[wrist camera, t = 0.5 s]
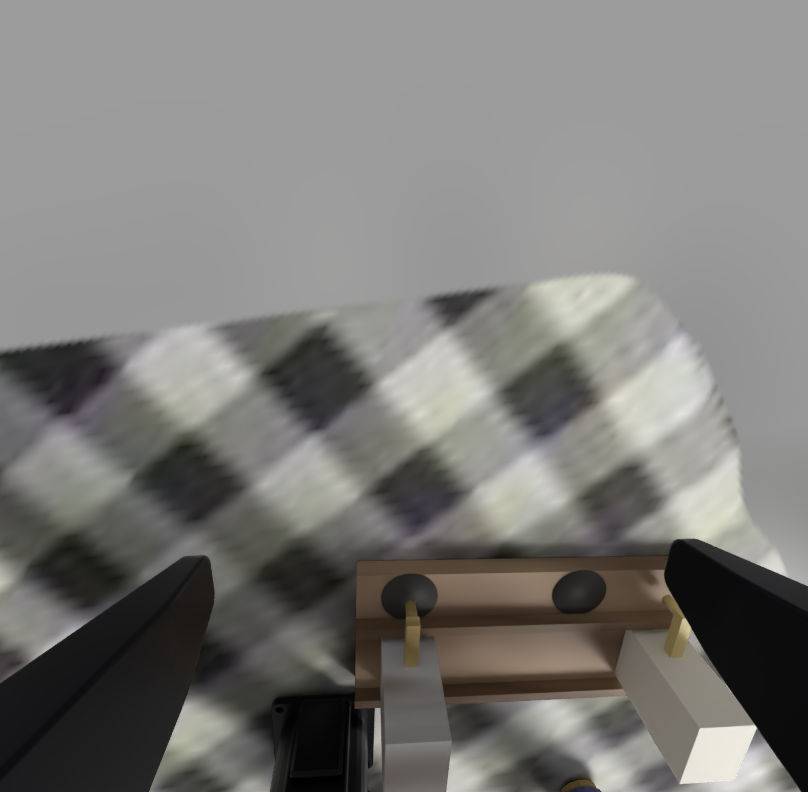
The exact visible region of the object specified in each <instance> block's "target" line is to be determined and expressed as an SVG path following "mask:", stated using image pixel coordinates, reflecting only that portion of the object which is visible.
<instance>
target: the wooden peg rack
mask: <svg viewBox="0 0 808 792" xmlns="http://www.w3.org/2000/svg"><path fill="white" fill-rule="evenodd" d="M667 558H668V556H625V557H567V558H508V559H450V560H391V561H357V574H356V634H355V639H356V661H355V709H362V708H381V742H382V781H383V792H446V788H447V779H448V770H449V761H450V752H451V744H452V739H451V733H450V727H449V722H448V716H447V710H446V704H467V703H488V702H509V701H530V700H551V699H572V698H593V697H614V696H627V694H626V692H625V691H624V689H623V687H622V686H621V684H620V682H619V681H618V679H617V677H616V675H615V674H614V673H615V669H616V665H617V661H618V658H619V654H620V650H621V646H622V643H623V639H624V635H625V631H626V630H644V629H669V628H670V625H671V622H672V618H673V614H672V613H671V611H670V610H669V609H668V608H667V607H666V606H665V604H664V603H663V602H662V597H663V596H665V595H671V596H672V594H671V593H670V591H669V589H668V588H667V586H666V583H665V579H664V570H665V566H666V562H667ZM672 598H673V596H672ZM673 599H674V598H673Z"/></svg>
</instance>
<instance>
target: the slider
mask: <svg viewBox="0 0 808 792" xmlns="http://www.w3.org/2000/svg"><path fill="white" fill-rule="evenodd" d="M662 602H663V603H664V604H665V606H666V607H667V608H668V609H669V610H670V611H671V613H672V614H673V618H672V622H671V625H670V628H669V629H644V630H626V631H625V635H624V639H623V643H622V646H621V650H620V654H619V658H618V661H617V665H616V669H615V673H614V674H615V675H616V677H617V679H618V681H619V682H620V684H621V686H622V687H623V689H624V691H625V692H626V694H627V696H628V698H629V699H630V701H631V703H632V704H633V706H634V708H635V709H636V711H637V713H638V715H639V716H640V718H641V720H642V721H643V723H644V725H645V726H646V728H647V730H648V732H649V733H650V735H651V737H652V738H653V740H654V742H655V743H656V745H657V747H658V749H659V750H660V752H661V754H662V755H663V757H664V759H665V760H666V762H667V764H668V766H669V767H670V769H671V771H672V772H673V774H674V776H675V777H676V779H677V781H678V783H679V784H687V783H702V782H717V781H732V780H735V777H736V775H737V773H738V770H739V768H740V766H741V764H742V761H743V759H744V757H745V754H746V752H747V750H748V747H749V745H750V743H751V740H752V738H753V736H754V733H755V731H756V729H757V727H756V726H755V725H754V723H753V722H752V720H751V719H750V717H749V716H748V715H747V713H746V712H745V710H744V709H743V707H742V706H741V705H740V703H739V702H738V700H737V699H736V698H735V697H734V696H733V694H732V693H731V692H730V691H729V690H728V688H727V687H726V686H725V685H724V684H723V682H722V681H721V680H720V679H719V677H718V676H717V675H716V674H715V673H714V671H713V670H712V669H711V668H710V667H709V665H708V664H707V663H706V662H705V661H704V659H703V658H702V657H701V656H700V655H699V653H698V652H697V651H696V650H695V649H694V647H693V646H692V645H691V644H690V643H689V641H688V638H689V634H690V631H691V627H690V625H689V624H688V622H687V620H686V618H685V617H684V615H683V613H682V612H681V610H680V608H679V606H678V605H677V603H676V601H675V600H674V599H673V598H672V596H671V595H665V596H663V597H662Z"/></svg>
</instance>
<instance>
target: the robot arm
mask: <svg viewBox="0 0 808 792" xmlns="http://www.w3.org/2000/svg"><path fill="white" fill-rule="evenodd" d="M664 579H665V583H666V586H667V588H668V589H669V591H670V593H671V594H672V596H673V598H674V600H675V601H676V603H677V605H678V606H679V608H680V610H681V612H682V613H683V615H684V617H685V618H686V620H687V622H688V624H689V625H690V627H691V629H692V630H693V632H694V634H695V636H696V637H697V639H698V641H699V642H700V644H701V646H702V648H703V649H704V651H705V653H706V654H707V656H708V657H709V659H710V661H711V662H712V664H713V665H714V667H715V668H716V670H717V671H718V673H719V674H720V676H721V677H722V679H723V680H724V682H725V683H726V684H727V686H728V687H729V689H730V690H731V692H732V693H733V694H734V696H735V697H736V699H737V700H738V702H739V703H740V705H741V706H742V707H743V709H744V710H745V712H746V713H747V715H748V716H749V717H750V719H751V720H752V722H753V723H754V725H755V726H756V727H757V729H758V730H759V732H760V733H761V735H762V736H763V738H764V739H765V740H766V742H767V743H768V745H769V746H770V748H771V749H772V750H773V752H774V753H775V755H776V756H777V758H778V759H779V760H780V762H781V763H782V765H783V766H784V768H785V769H786V771H787V772H788V773H789V775H790V776H791V778H792V779H793V781H794V782H795V783H796V785H797V786H798V788H799V789H800V791H801V792H808V586H806V585H804V584H801V583H799V582H797V581H794V580H792V579H790V578H787V577H785V576H783V575H780V574H778V573H776V572H773V571H771V570H769V569H766V568H764V567H762V566H759V565H757V564H755V563H752V562H750V561H748V560H745V559H743V558H740V557H738V556H736V555H733V554H731V553H729V552H726V551H724V550H722V549H719V548H717V547H715V546H712V545H710V544H708V543H705V542H703V541H701V540H698V539H677V540H674V541H673V542H672V544H671V546H670V550H669V554H668V558H667V562H666V566H665V570H664ZM214 594H215V593H214V585H213V578H212V570H211V563H210V560H209V558H208V557H207V556H185V557H183V558H181V559H179V560H178V561H176V562H175V563H174V564H172V565H171V566H169V567H168V568H166V569H165V570H163V571H162V572H161V573H159V574H158V575H156V576H155V577H153V578H152V579H150V580H149V581H147V582H146V583H145V584H143V585H142V586H140V587H139V588H137V589H136V590H134V591H133V592H132V593H130V594H129V595H127V596H126V597H124V598H123V599H121V600H120V601H118V602H117V603H116V604H114V605H113V606H111V607H110V608H108V609H107V610H105V611H104V612H103V613H101V614H100V615H98V616H97V617H95V618H94V619H92V620H91V621H89V622H88V623H87V624H85V625H84V626H82V627H81V628H79V629H78V630H76V631H75V632H74V633H72V634H71V635H69V636H68V637H66V638H65V639H63V640H62V641H60V642H59V643H58V644H56V645H55V646H53V647H52V648H50V649H49V650H47V651H46V652H45V653H43V654H42V655H40V656H39V657H37V658H36V659H34V660H33V661H31V662H30V663H29V664H27V665H26V666H24V667H23V668H21V669H20V670H18V671H17V672H16V673H14V674H13V675H11V676H10V677H8V678H7V679H5V680H4V681H2V682H1V683H0V792H149V790H150V787H151V785H152V782H153V780H154V777H155V775H156V772H157V770H158V767H159V765H160V762H161V760H162V757H163V755H164V752H165V750H166V747H167V745H168V742H169V740H170V737H171V735H172V732H173V730H174V727H175V725H176V722H177V720H178V717H179V715H180V712H181V710H182V707H183V704H184V702H185V699H186V696H187V694H188V690H189V687H190V684H191V681H192V678H193V674H194V671H195V667H196V664H197V660H198V657H199V653H200V650H201V646H202V643H203V639H204V636H205V632H206V629H207V626H208V622H209V619H210V615H211V612H212V608H213V604H214ZM271 712H272V726H273V739H274V753H275V766H274V771H273V777H272V782H271V788H270V792H368V768H370V767H371V766H372V765H373V745H374V713H375V708H362V709H355V695H335V696H312V697H290V698H277V699H275V700H274V701H273V705H272V710H271Z"/></svg>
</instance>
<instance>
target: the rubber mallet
mask: <svg viewBox="0 0 808 792" xmlns="http://www.w3.org/2000/svg"><path fill="white" fill-rule="evenodd" d="M561 792H601V791H600V790H599V789H597V788H596V786H595V784H594V783H593V782H591V781H589V780H577V781H574V782H570V783H569V784H567V785H566V786H565V787H563V788H562V790H561Z"/></svg>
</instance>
